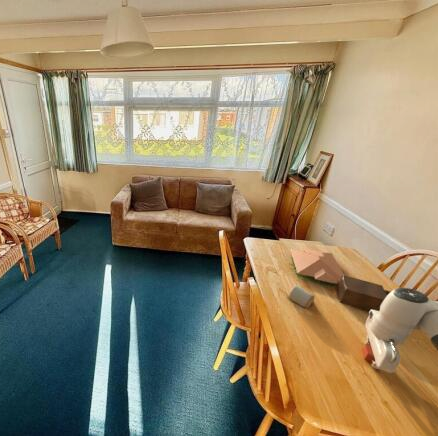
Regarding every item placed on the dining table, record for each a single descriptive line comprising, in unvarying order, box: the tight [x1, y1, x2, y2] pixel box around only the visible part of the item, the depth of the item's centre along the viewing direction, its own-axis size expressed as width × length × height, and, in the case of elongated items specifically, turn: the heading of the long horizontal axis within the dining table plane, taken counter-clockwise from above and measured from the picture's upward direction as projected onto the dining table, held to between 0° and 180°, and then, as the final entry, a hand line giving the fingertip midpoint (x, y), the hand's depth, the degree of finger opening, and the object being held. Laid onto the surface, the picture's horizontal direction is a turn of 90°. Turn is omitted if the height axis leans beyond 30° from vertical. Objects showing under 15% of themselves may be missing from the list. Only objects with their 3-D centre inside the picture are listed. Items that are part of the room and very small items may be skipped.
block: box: [361, 343, 375, 363], centre depth 83 cm, size 4×4×4 cm
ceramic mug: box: [288, 285, 315, 309], centre depth 108 cm, size 11×8×8 cm
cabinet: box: [335, 274, 387, 313], centre depth 107 cm, size 15×12×10 cm
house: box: [290, 247, 345, 288], centre depth 131 cm, size 23×33×8 cm
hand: (371, 356), depth 83 cm, fingers open, 8 cm apart
